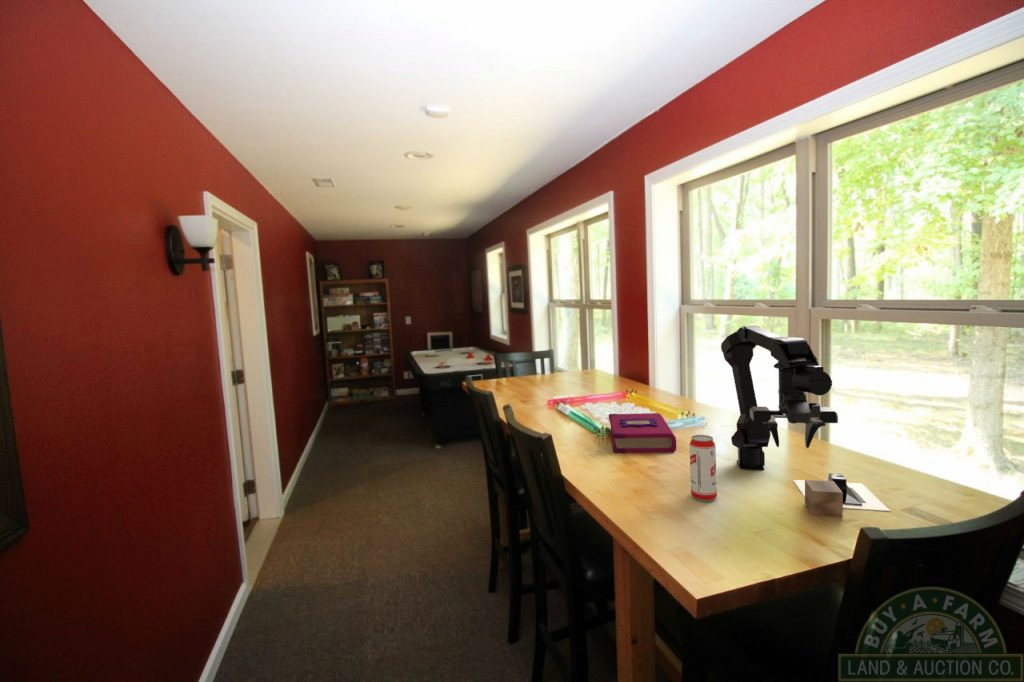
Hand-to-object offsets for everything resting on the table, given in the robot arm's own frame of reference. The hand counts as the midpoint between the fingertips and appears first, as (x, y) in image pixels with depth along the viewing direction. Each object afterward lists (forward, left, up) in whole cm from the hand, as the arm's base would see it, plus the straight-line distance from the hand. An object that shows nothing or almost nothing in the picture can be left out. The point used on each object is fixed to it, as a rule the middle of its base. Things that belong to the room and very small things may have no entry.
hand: (792, 447), depth 120 cm
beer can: (-22, -7, -12) cm, 26 cm away
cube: (+4, -10, -12) cm, 16 cm away
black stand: (+10, 0, -12) cm, 15 cm away
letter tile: (+10, 0, -12) cm, 16 cm away
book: (-40, +40, -13) cm, 58 cm away
